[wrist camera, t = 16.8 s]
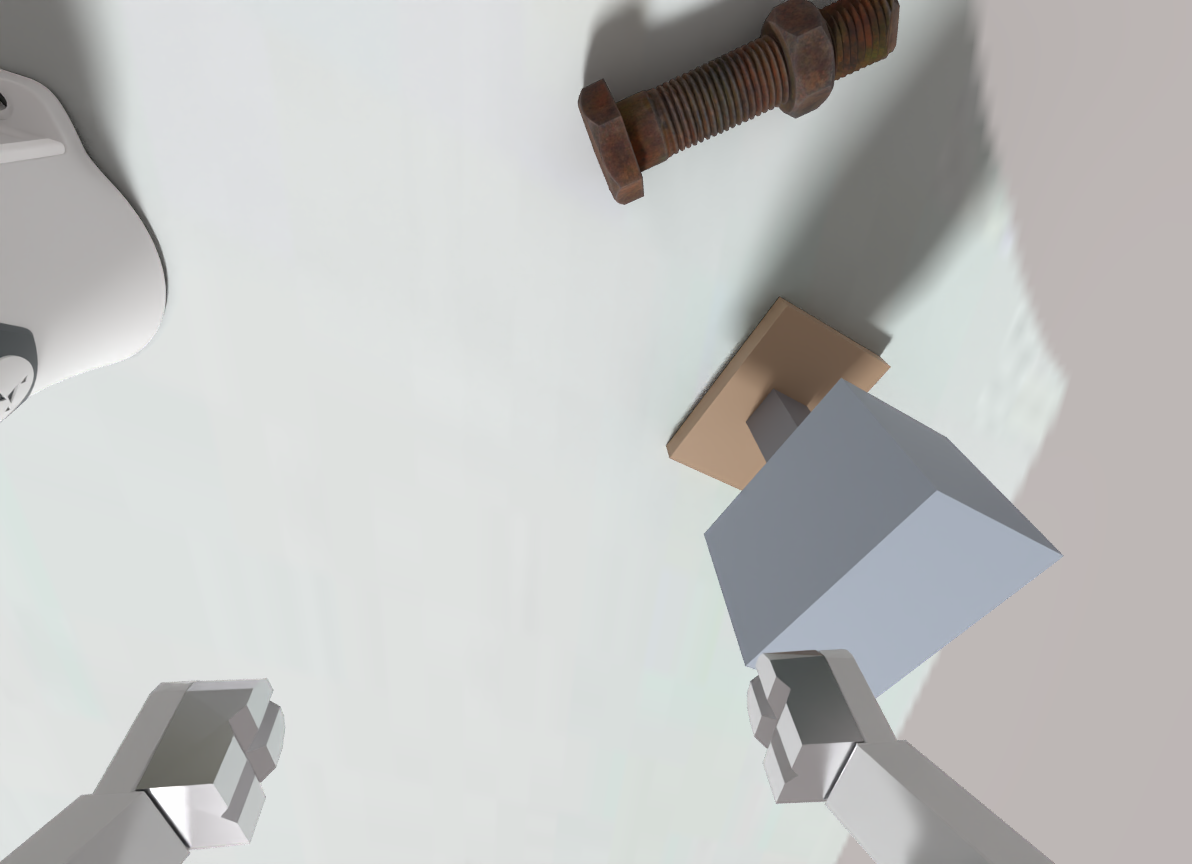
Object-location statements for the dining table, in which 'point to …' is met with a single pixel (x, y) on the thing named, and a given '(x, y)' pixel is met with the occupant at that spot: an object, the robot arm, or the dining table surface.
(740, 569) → the mounted unit
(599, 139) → the bolt
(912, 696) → the dining table surface
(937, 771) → the robot arm
